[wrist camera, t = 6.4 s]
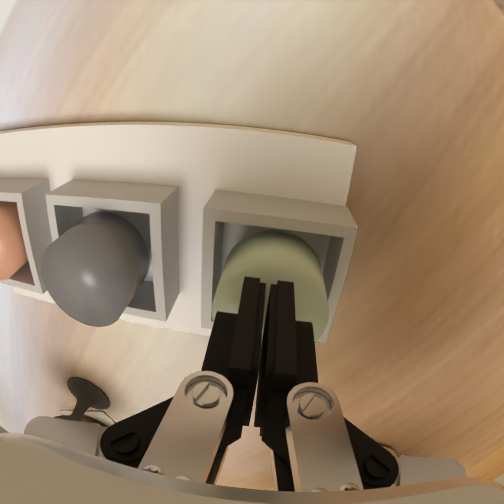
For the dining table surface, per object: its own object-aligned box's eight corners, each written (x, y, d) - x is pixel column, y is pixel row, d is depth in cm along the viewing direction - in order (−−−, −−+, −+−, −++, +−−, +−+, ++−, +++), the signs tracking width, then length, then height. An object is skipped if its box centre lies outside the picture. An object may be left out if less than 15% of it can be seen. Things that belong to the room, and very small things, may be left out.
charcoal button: (147, 215, 14) (117, 246, 11) (152, 296, 16) (130, 335, 13) (68, 208, 14) (32, 233, 11) (81, 283, 16) (53, 315, 13)
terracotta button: (36, 194, 15) (3, 214, 13) (48, 260, 17) (21, 286, 15) (-7, 192, 15) (-38, 210, 13) (5, 252, 17) (-21, 273, 15)
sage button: (330, 237, 13) (341, 274, 11) (311, 318, 15) (314, 362, 13) (227, 224, 14) (213, 259, 11) (222, 307, 16) (210, 350, 13)
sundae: (69, 361, 25) (-3, 491, 11) (127, 402, 26) (76, 536, 13) (54, 383, 27) (-4, 491, 14) (104, 418, 29) (59, 529, 16)
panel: (352, 141, 14) (374, 157, 11) (309, 332, 20) (313, 379, 17) (-2, 131, 15) (-44, 145, 12) (24, 281, 21) (-5, 310, 17)
